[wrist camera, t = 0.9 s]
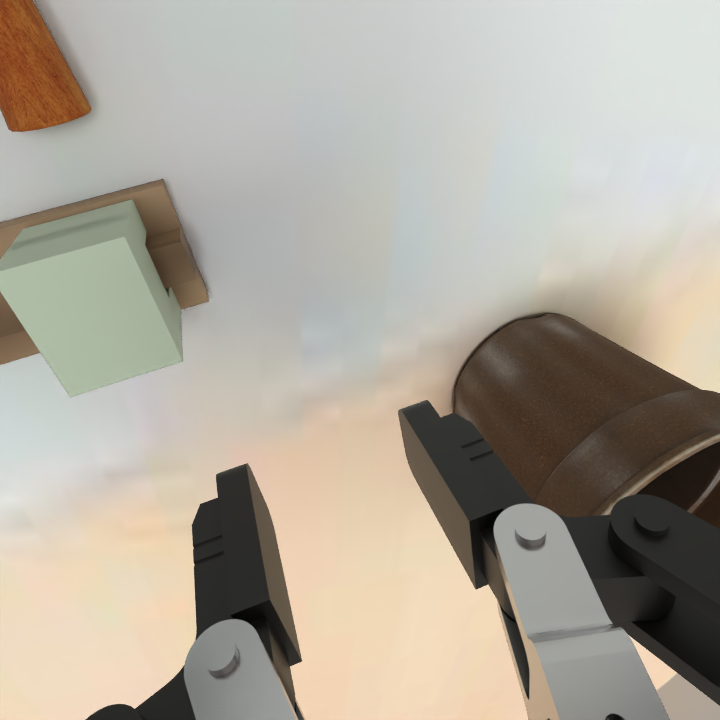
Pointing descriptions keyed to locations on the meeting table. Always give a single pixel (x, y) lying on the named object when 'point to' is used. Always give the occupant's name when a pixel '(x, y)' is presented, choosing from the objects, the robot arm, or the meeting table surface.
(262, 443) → the meeting table surface
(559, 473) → the plant pot
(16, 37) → the kendama
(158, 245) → the rail
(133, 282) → the keeper
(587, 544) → the robot arm
